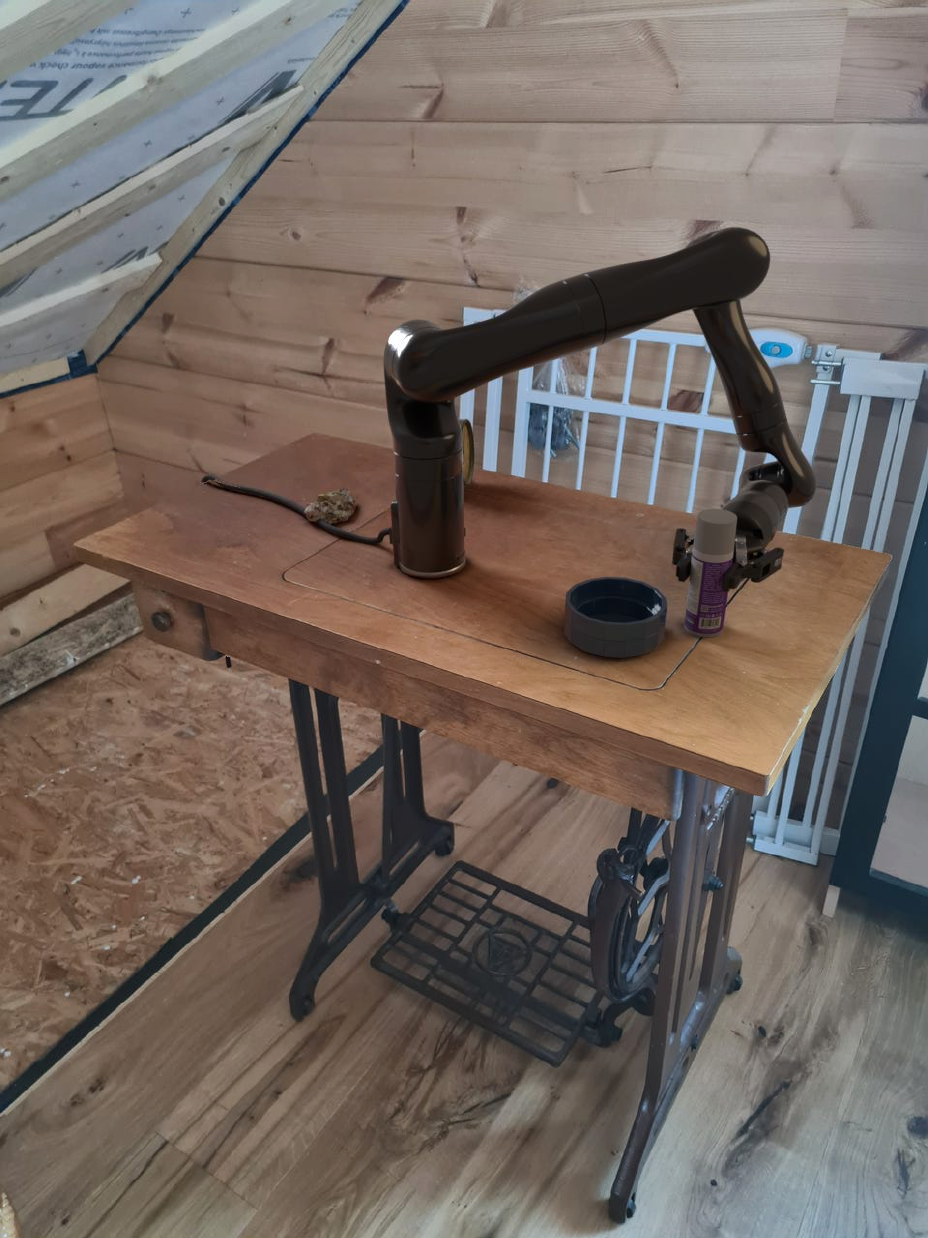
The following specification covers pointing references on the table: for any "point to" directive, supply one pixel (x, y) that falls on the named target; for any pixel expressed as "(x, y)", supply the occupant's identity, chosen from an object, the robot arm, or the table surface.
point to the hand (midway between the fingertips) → (703, 579)
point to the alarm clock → (467, 450)
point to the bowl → (615, 617)
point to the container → (709, 572)
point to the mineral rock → (331, 507)
